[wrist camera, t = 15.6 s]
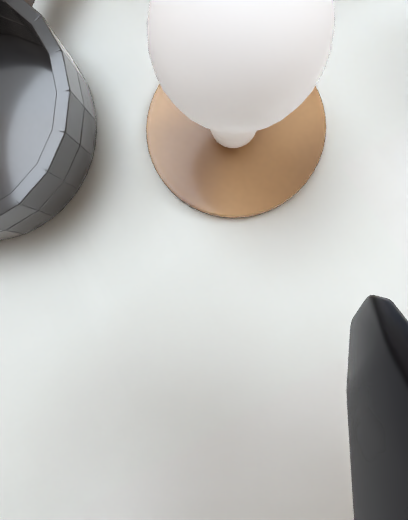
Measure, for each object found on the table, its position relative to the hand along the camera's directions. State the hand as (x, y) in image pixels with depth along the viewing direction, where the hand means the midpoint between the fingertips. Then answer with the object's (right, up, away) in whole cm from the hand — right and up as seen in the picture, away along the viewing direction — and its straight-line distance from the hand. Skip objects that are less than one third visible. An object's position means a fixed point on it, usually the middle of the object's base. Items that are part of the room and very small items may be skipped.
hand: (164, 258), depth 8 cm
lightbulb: (+3, +7, +12) cm, 14 cm away
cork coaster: (+3, +7, +12) cm, 15 cm away
